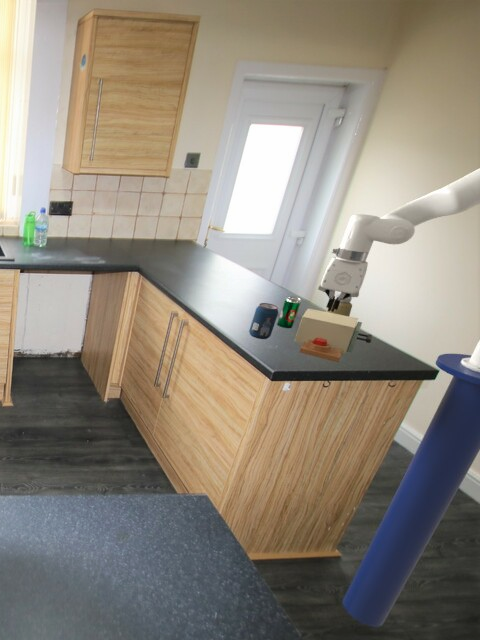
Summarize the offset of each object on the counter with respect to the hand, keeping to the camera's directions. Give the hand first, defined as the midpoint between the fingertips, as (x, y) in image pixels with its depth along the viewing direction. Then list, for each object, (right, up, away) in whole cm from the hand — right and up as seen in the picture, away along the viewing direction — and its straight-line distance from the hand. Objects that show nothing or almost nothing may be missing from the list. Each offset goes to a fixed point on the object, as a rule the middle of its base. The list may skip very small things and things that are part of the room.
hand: (330, 310), depth 154 cm
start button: (0, -11, +5) cm, 12 cm away
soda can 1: (-13, -8, +18) cm, 24 cm away
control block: (0, -14, +5) cm, 15 cm away
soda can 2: (+3, -5, +28) cm, 28 cm away
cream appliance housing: (+7, -11, +14) cm, 19 cm away
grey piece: (+10, -11, +11) cm, 19 cm away
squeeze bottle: (+19, -7, +25) cm, 32 cm away
